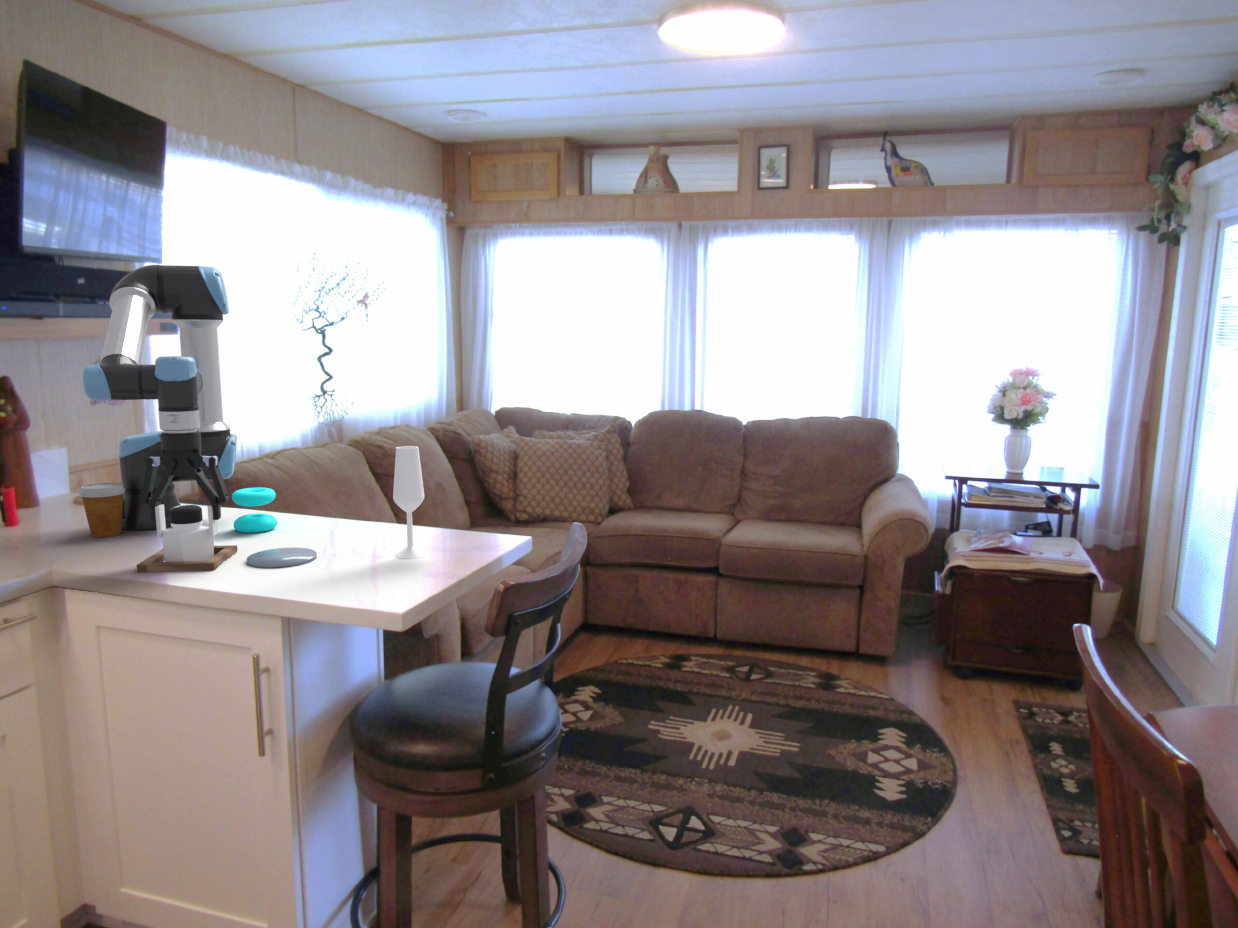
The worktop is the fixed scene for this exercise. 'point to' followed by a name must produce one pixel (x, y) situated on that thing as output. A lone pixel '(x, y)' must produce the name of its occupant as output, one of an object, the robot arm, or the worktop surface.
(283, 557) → the slate plate
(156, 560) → the wooden picture frame
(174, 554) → the medicine bottle
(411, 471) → the champagne flute
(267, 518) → the donuts
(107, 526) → the disposable coffee cup
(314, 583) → the worktop surface
